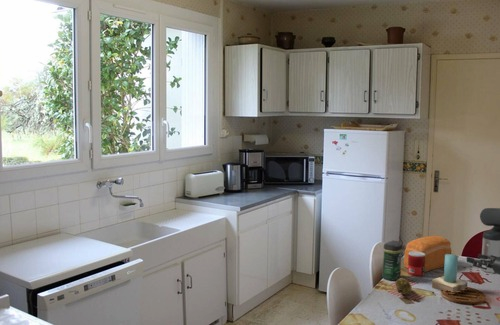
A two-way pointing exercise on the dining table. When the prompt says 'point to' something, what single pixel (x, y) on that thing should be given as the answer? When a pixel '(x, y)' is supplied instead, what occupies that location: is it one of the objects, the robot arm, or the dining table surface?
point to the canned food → (416, 263)
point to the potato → (403, 286)
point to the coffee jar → (392, 260)
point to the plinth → (448, 284)
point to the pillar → (450, 268)
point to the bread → (429, 251)
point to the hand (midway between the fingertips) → (472, 257)
